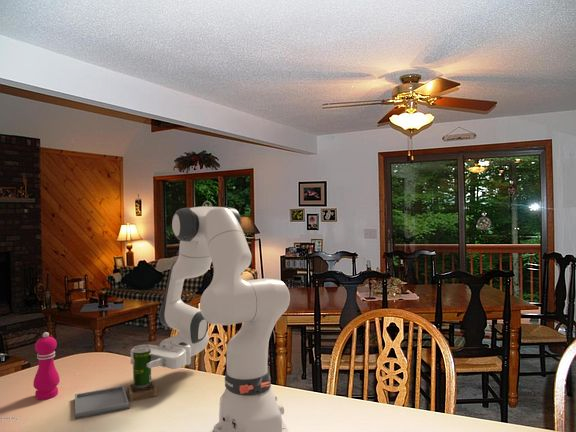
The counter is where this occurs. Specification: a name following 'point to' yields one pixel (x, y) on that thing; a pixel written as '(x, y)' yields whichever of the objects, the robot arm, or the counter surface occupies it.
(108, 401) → the tray
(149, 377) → the beer can
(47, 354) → the pepper mill
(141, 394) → the can holder
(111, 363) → the counter surface
